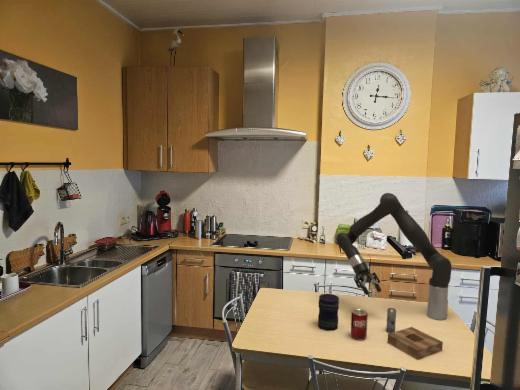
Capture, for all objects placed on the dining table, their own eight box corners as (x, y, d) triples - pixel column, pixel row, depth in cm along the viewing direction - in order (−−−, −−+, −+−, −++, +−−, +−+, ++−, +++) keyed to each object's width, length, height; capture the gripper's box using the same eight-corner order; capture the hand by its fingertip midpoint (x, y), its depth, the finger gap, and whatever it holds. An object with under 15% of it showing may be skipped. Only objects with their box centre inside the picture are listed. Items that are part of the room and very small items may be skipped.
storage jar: (341, 326, 179) (342, 297, 177) (331, 333, 172) (332, 302, 170) (324, 320, 186) (325, 292, 184) (313, 326, 178) (314, 297, 177)
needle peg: (390, 328, 177) (391, 307, 176) (396, 332, 174) (398, 310, 173) (384, 330, 175) (385, 308, 174) (391, 334, 172) (392, 311, 171)
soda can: (348, 333, 172) (349, 309, 171) (363, 333, 172) (364, 308, 171) (353, 340, 164) (354, 315, 163) (369, 340, 165) (370, 315, 164)
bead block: (411, 334, 171) (411, 326, 171) (442, 350, 157) (442, 341, 157) (387, 342, 163) (387, 334, 163) (417, 359, 149) (418, 350, 149)
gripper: (352, 263, 186) (367, 291, 177) (372, 260, 193) (388, 287, 184) (345, 270, 191) (359, 298, 182) (364, 267, 198) (379, 294, 189)
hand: (373, 293), depth 183 cm, fingers open, 8 cm apart
